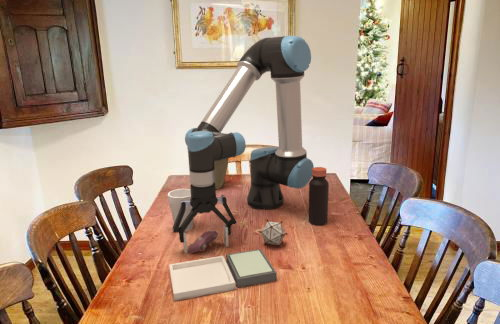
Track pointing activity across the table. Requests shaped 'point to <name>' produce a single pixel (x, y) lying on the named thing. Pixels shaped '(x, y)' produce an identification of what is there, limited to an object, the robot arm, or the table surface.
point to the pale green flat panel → (250, 263)
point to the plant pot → (220, 172)
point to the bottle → (318, 197)
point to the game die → (273, 233)
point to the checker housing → (255, 278)
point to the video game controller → (203, 241)
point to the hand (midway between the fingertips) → (206, 248)
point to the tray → (200, 277)
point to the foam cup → (175, 204)
